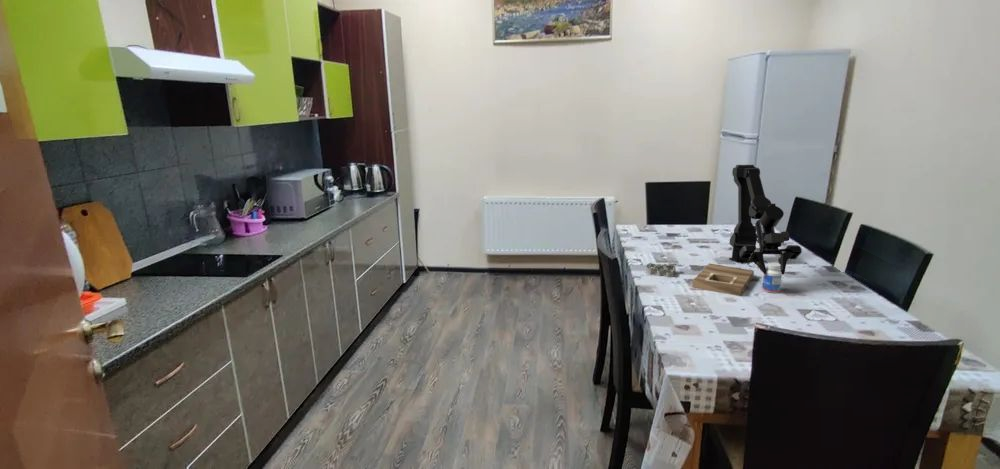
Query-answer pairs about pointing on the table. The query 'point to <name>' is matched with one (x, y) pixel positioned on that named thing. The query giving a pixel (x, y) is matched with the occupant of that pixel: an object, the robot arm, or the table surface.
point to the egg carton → (661, 269)
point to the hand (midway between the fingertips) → (774, 273)
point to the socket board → (723, 279)
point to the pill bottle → (772, 278)
